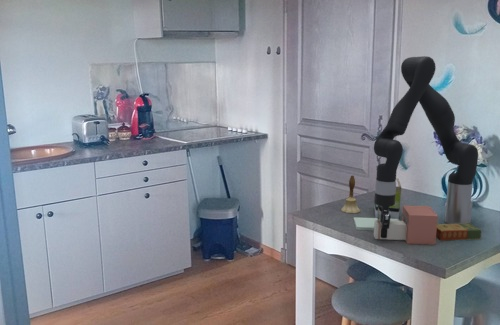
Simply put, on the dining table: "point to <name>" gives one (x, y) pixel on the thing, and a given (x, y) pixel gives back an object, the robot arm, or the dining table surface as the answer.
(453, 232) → the carton
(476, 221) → the dining table surface
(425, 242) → the salmon pink box
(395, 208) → the tea box
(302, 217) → the dining table surface
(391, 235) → the white pink-banded block
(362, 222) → the stub board
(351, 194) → the hand bell
